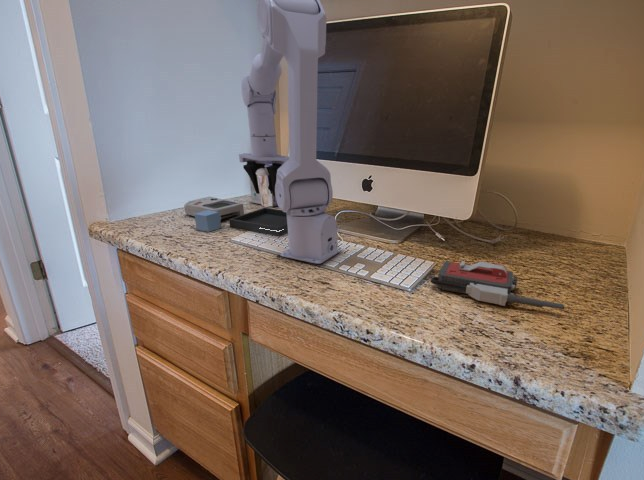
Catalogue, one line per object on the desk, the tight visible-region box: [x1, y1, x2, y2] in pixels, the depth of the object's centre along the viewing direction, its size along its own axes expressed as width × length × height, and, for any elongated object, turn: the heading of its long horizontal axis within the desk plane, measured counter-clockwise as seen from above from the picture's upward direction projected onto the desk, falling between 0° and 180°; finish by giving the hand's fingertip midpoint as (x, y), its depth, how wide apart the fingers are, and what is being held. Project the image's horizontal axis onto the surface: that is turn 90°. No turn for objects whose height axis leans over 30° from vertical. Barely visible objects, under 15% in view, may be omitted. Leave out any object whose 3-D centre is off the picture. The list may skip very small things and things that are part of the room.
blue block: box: [193, 210, 222, 233], centre depth 90 cm, size 4×4×4 cm
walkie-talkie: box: [430, 260, 566, 310], centre depth 60 cm, size 9×4×20 cm
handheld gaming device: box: [183, 196, 245, 222], centre depth 101 cm, size 9×15×4 cm, turn 57°
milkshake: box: [256, 168, 276, 208], centre depth 91 cm, size 4×5×10 cm
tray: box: [228, 207, 288, 237], centre depth 95 cm, size 15×13×2 cm
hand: (268, 194), depth 92 cm, fingers closed on milkshake, 5 cm apart
